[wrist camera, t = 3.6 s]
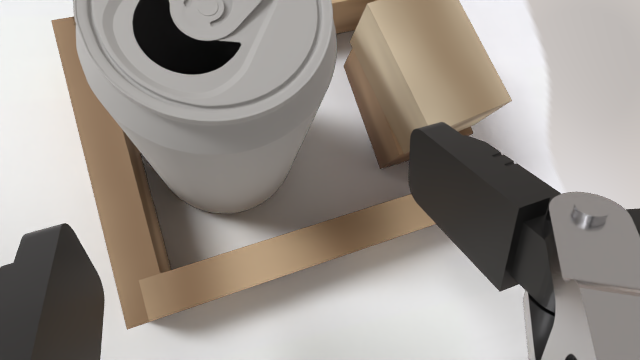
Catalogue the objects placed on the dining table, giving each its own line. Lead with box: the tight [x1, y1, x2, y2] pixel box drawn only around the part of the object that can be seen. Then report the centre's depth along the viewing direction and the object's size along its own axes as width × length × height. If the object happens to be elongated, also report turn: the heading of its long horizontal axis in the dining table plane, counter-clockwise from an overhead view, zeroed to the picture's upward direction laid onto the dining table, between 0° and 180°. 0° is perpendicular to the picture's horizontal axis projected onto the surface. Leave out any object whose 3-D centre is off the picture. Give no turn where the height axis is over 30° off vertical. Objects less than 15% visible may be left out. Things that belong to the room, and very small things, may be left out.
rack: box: [51, 0, 436, 329], centre depth 20 cm, size 17×13×3 cm
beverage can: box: [73, 0, 337, 214], centre depth 15 cm, size 6×6×12 cm
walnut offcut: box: [344, 48, 473, 169], centre depth 22 cm, size 4×6×3 cm, turn 19°
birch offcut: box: [350, 0, 512, 154], centre depth 19 cm, size 4×6×3 cm, turn 25°
